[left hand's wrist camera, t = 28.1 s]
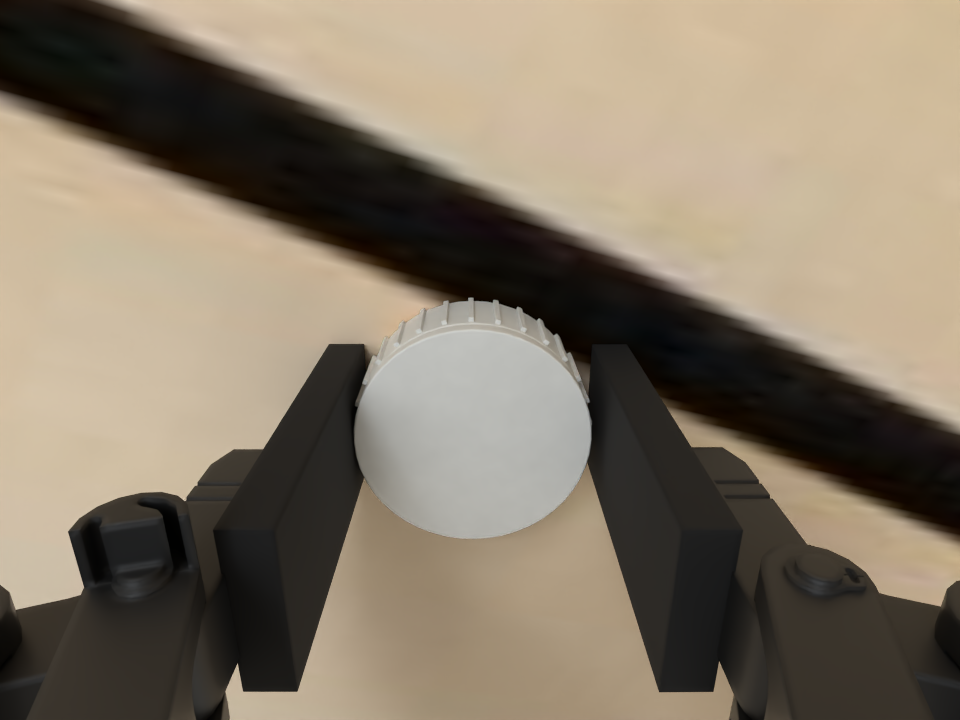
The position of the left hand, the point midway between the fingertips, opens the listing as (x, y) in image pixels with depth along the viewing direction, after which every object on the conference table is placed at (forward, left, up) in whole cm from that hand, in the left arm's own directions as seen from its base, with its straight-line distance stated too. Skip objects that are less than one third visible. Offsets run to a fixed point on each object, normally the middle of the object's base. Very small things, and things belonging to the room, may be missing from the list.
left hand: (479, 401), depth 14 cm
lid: (0, 0, +1) cm, 1 cm away
